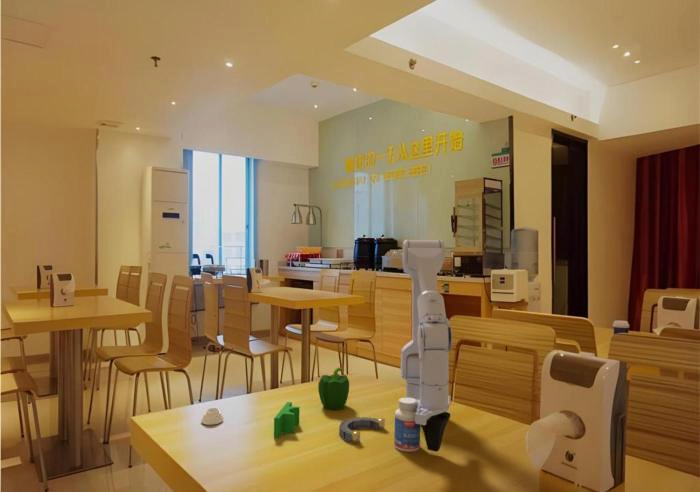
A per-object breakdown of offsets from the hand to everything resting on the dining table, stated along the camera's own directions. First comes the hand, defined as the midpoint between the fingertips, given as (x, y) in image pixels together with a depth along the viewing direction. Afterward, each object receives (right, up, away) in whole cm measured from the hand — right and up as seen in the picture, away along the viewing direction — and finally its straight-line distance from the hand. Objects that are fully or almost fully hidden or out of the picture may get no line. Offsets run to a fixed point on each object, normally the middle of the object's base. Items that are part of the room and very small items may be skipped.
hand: (433, 449), depth 93 cm
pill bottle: (-5, -1, +4) cm, 6 cm away
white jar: (-50, -1, +17) cm, 53 cm away
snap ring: (-15, -1, +11) cm, 19 cm away
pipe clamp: (-31, -1, +13) cm, 34 cm away
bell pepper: (-21, -1, +28) cm, 35 cm away
